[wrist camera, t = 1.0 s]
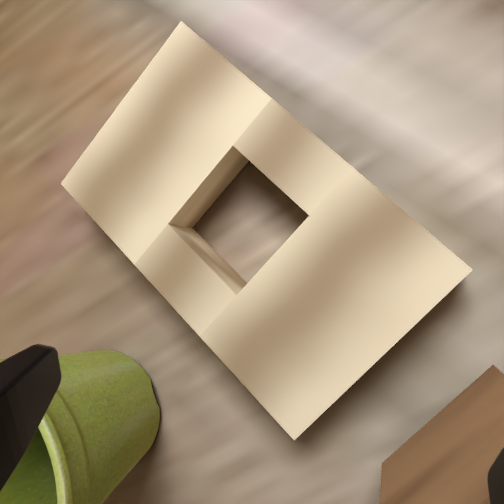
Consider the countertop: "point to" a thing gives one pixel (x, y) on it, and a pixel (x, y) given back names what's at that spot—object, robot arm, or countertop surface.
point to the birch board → (286, 257)
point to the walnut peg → (451, 450)
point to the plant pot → (87, 432)
